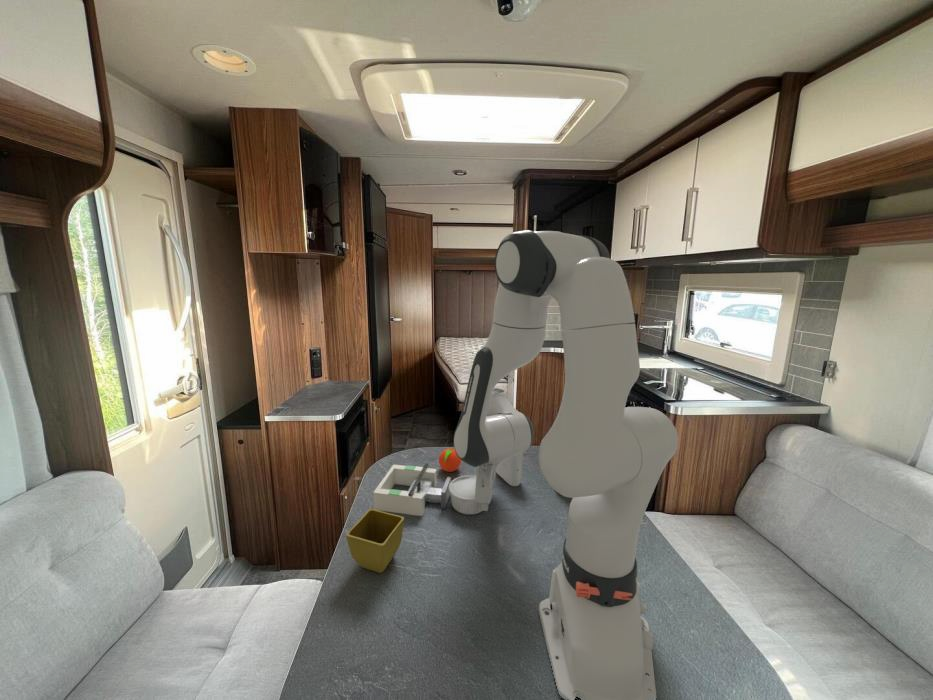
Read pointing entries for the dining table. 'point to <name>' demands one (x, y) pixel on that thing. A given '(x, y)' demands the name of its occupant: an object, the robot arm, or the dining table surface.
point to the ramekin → (464, 495)
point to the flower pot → (375, 539)
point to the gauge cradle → (399, 499)
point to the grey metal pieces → (431, 489)
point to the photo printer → (511, 469)
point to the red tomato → (449, 460)
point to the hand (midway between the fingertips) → (487, 497)
